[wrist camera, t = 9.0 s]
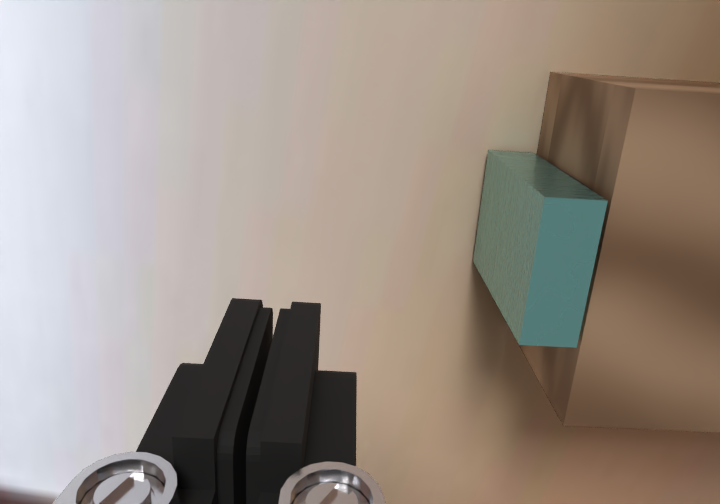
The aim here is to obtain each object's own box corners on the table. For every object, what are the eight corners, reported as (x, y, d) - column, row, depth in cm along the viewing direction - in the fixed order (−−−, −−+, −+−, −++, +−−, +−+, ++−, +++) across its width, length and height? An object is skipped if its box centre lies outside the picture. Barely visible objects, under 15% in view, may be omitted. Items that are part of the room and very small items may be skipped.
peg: (488, 150, 26) (544, 197, 19) (801, 169, 27) (977, 222, 19) (473, 261, 28) (518, 344, 20) (766, 276, 29) (916, 364, 21)
